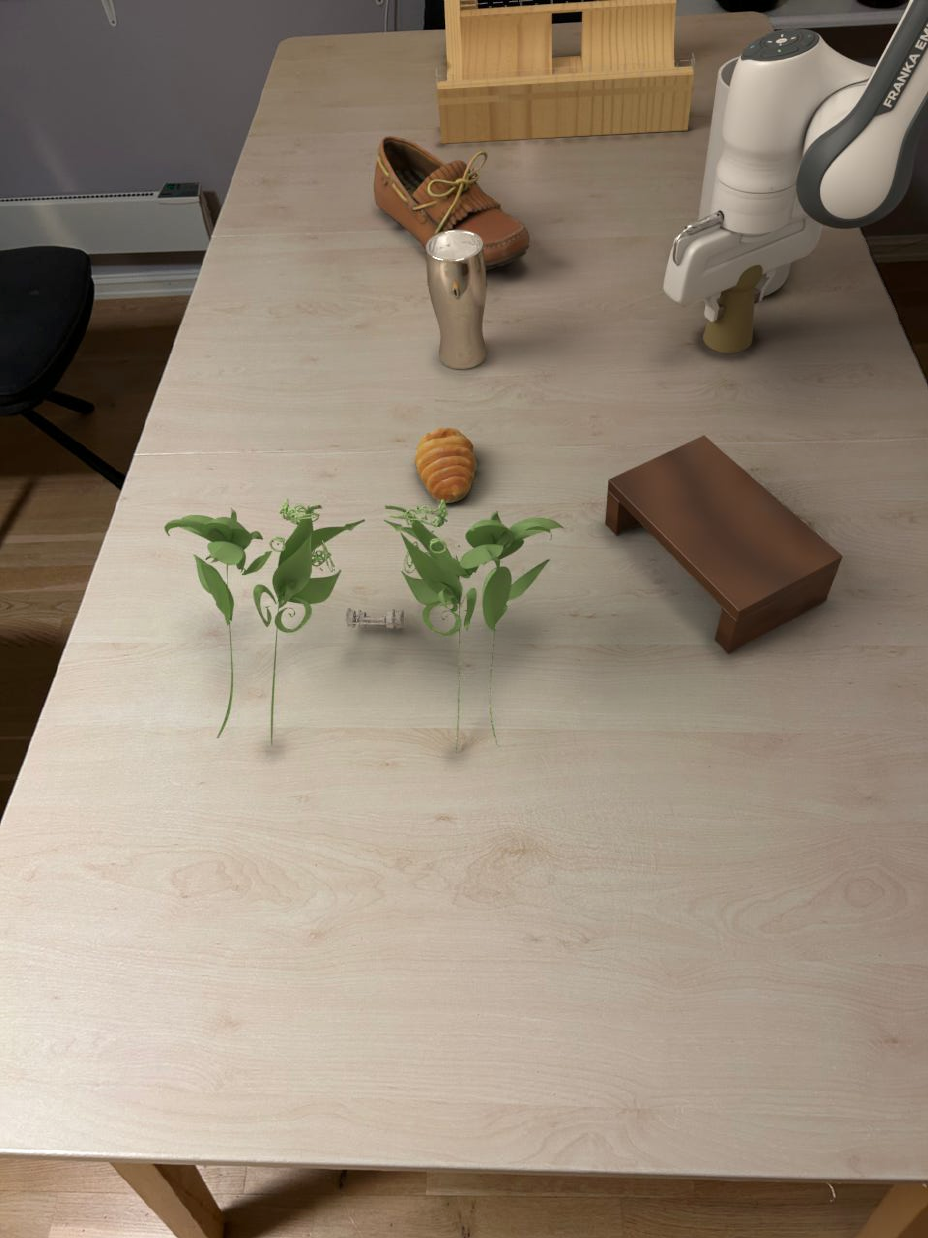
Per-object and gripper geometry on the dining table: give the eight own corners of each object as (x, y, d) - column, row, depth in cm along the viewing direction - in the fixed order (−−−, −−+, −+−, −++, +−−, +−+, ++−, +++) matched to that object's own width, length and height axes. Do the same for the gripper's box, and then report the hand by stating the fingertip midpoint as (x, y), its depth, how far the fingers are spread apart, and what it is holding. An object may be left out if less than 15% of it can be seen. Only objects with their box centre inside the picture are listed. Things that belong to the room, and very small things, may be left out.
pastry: (484, 502, 102) (482, 476, 99) (423, 512, 101) (419, 486, 98) (471, 445, 107) (468, 419, 104) (413, 454, 107) (409, 429, 104)
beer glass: (459, 379, 115) (449, 268, 103) (424, 354, 119) (411, 244, 107) (502, 354, 118) (497, 244, 106) (466, 331, 121) (458, 221, 109)
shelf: (696, 480, 101) (704, 434, 96) (826, 600, 90) (843, 556, 85) (604, 524, 98) (608, 479, 93) (727, 654, 87) (739, 611, 82)
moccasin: (540, 277, 128) (540, 190, 118) (458, 305, 125) (452, 219, 115) (443, 182, 146) (436, 100, 136) (369, 204, 143) (357, 122, 133)
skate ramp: (441, 149, 154) (431, 44, 141) (450, 53, 175) (442, -47, 162) (686, 136, 151) (700, 27, 138) (666, 40, 172) (675, -63, 159)
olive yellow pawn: (759, 331, 117) (776, 249, 108) (742, 358, 114) (758, 276, 105) (713, 319, 119) (726, 238, 110) (695, 345, 116) (707, 264, 107)
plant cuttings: (559, 745, 90) (563, 515, 90) (560, 771, 73) (565, 488, 73) (209, 733, 94) (214, 512, 94) (132, 756, 77) (139, 486, 77)
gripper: (694, 241, 98) (679, 352, 109) (843, 182, 103) (815, 293, 114) (658, 216, 102) (647, 326, 112) (803, 160, 107) (780, 270, 118)
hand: (733, 309), depth 113 cm, fingers closed on olive yellow pawn, 4 cm apart
